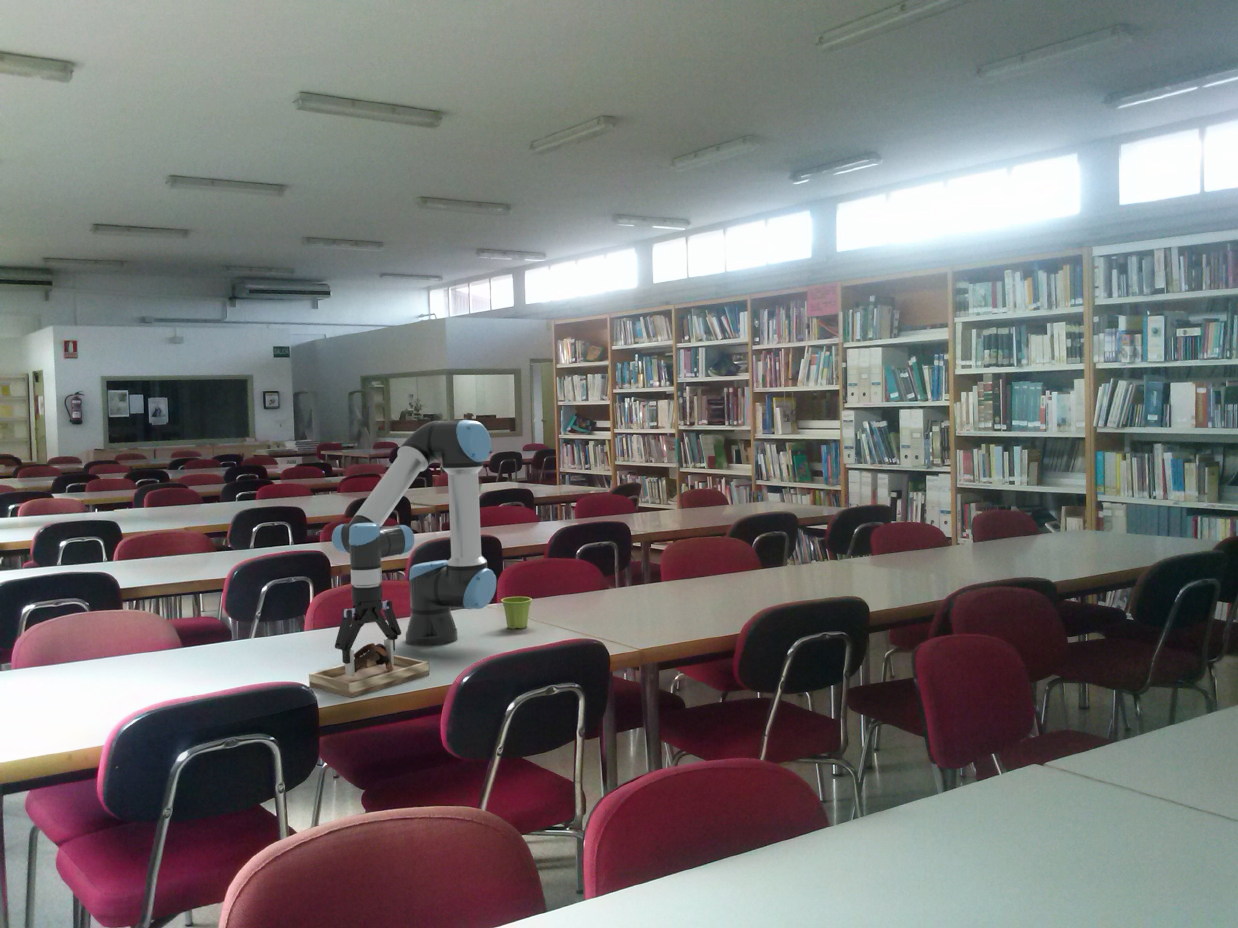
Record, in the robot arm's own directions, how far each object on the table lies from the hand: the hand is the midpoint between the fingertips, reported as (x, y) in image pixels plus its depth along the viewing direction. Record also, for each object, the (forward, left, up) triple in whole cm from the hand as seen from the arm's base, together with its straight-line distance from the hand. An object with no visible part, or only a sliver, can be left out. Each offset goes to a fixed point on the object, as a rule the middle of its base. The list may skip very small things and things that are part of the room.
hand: (370, 669), depth 249 cm
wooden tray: (0, 0, -3) cm, 3 cm away
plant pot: (-64, -10, -3) cm, 65 cm away
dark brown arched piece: (0, +1, -1) cm, 1 cm away
